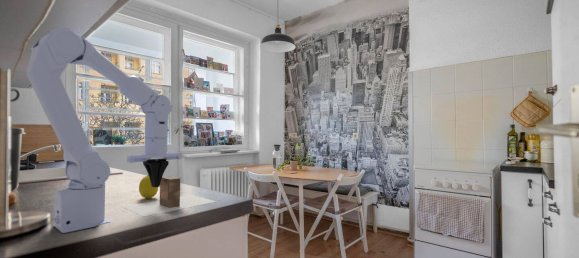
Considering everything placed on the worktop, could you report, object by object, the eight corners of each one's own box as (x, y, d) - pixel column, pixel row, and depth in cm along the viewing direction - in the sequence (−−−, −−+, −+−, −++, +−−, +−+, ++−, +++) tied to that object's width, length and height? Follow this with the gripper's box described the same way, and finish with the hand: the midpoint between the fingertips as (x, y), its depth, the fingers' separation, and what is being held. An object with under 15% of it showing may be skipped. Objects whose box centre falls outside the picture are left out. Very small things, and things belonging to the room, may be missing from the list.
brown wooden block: (169, 208, 84) (169, 179, 84) (158, 204, 87) (159, 177, 88) (179, 206, 86) (180, 178, 86) (169, 202, 90) (169, 175, 90)
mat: (143, 218, 75) (143, 216, 75) (121, 208, 84) (121, 206, 84) (216, 203, 92) (216, 201, 92) (191, 196, 101) (191, 194, 101)
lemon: (149, 202, 91) (149, 176, 91) (134, 201, 93) (135, 175, 93) (161, 198, 97) (162, 174, 97) (147, 197, 98) (148, 172, 98)
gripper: (173, 137, 92) (172, 181, 92) (122, 137, 81) (121, 188, 81) (185, 138, 87) (185, 184, 87) (133, 138, 76) (133, 192, 76)
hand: (155, 186), depth 84 cm, fingers closed
